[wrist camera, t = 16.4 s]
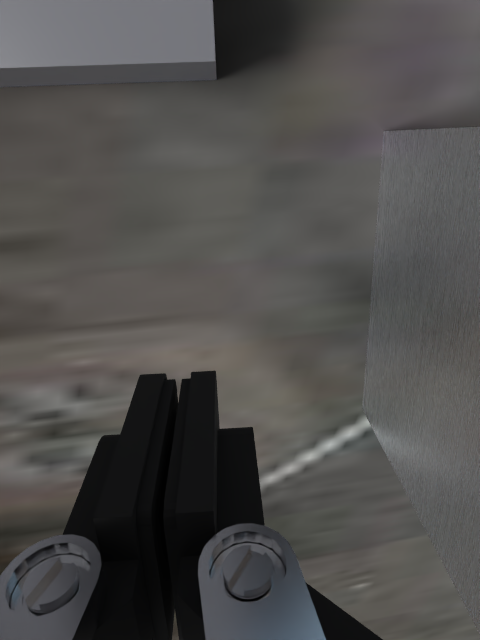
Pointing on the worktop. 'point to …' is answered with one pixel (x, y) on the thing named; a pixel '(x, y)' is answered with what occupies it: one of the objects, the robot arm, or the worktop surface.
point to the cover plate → (430, 338)
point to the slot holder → (105, 41)
